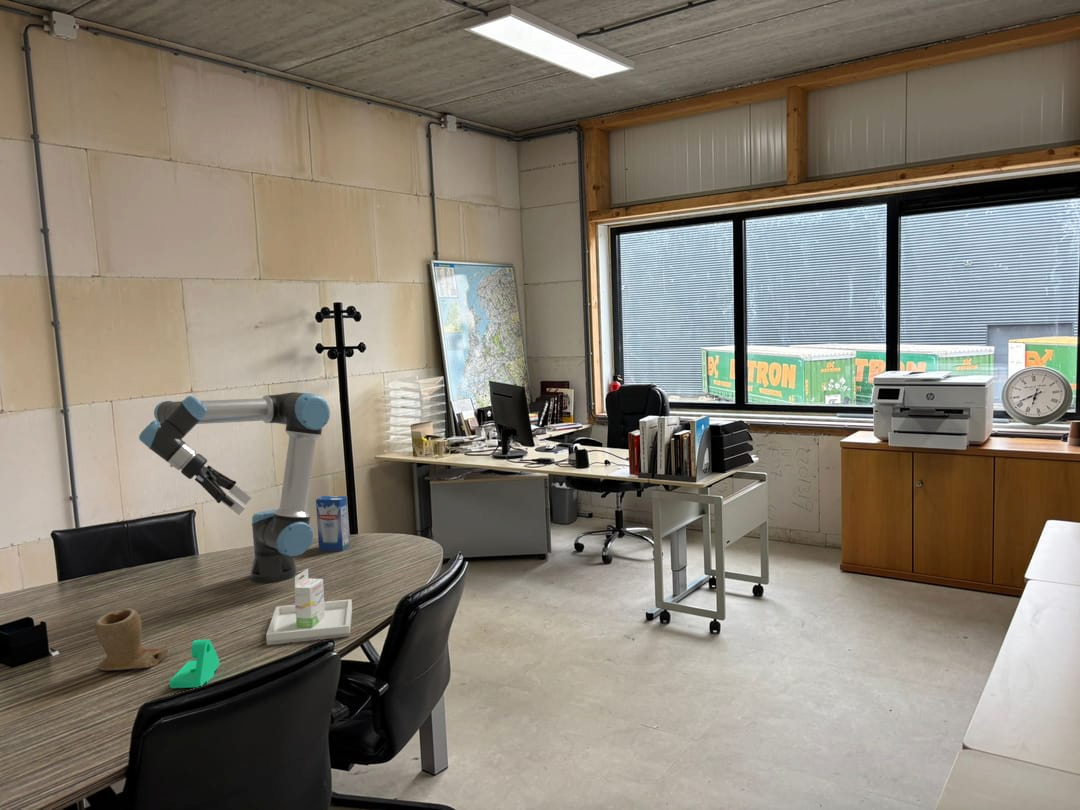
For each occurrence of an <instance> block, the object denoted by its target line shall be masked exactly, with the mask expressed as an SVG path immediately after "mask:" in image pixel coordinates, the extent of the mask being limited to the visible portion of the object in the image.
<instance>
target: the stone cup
mask: <svg viewBox="0 0 1080 810" xmlns="http://www.w3.org/2000/svg"><path fill="white" fill-rule="evenodd" d="M142 628H143V627H142V620H141V616H140V614H139V613H138V612H137V610H135V609H133V608H124V609H121V610H114V611H110V612H108V613H106V614H104V615H102V616H100V617H99V618H98V619H97V620H96V621H95V623H94V631H95V636H96V638H97V639H98V642H99V644H100V645H101V647H102V648H103V650H104V652H105V654H106V658H104V659H103V660H102V661H101V662H100V663H99V665H98V669H99V670H101V671H121V670H122V671H123V670H124V671H125V670H134V669H135V670H136V669H143V668H144V669H145V668H146V669H147V668H151V667H154V666H157V664H159V663H161V662H162V661H163V660H164V659H165V658H166V657H167V655H168V654H169V652H170V649H169V648H167V647H164V648H163V647H161V648H144V647H143V646H142Z"/></svg>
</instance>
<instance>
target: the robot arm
mask: <svg viewBox="0 0 1080 810" xmlns="http://www.w3.org/2000/svg"><path fill="white" fill-rule="evenodd" d="M153 415H154V416H153V417H154V418H155V419H154V420H152V421H151V422H150V423H149V424H148V425H147V426H146V427H145V428H144V429H143V430H142V431H141V432H140V434H139V437H138V438H139V439H138V440H139V441H140V442H142V443H143V444H144V445H145V446H146V447H148V449H149V450H151V451H152V452H153V453H155V454H157V455H158V456H159V457H160V458H162V460H164V461H166V463H168V464H169V466H170V467H171V468H175V469H176V470H177V471H180V472H181V474H182V475H183V476H185V477H186V478H187V479H188V480H192V479H193V478H194V477H196V478H195V479H194V481H195V482H196V483H198V484H199V485H200V486H201V487H202V488H203V489H205V491H206V492H207V493H208V494H209V495H210V496H211V497H212V498H213V499H214V500H215V501H216V503H217V504H220V503H222V504H224V505H225V506H226V507H228V508H229V509H230V510H232V511H233V512H234V513H236V514H237V515H238V516H240V515H241V514H242V512H244V510H245V509H246V507H245V506H246V505H247V504H248V503H249V501H250V500H251V499H252V496H250V495H249V494H248V493H246V491H244V490H243V489H241V488H240V487H238V485H236V484H237V481H236V480H233V479H231V478H229V477H228V476H226V475H225V474H222V472H219V471H218V470H216V469H215V468H214V467H212V466H211V465H209V464H208V465H207V466H205V465H206V464H207V463H208V460H207V458H206V457H204V456H203V455H202V454H200V453H197V451H196V449H194V448H193V447H192V446H190V445H189V444H188V443H187V442H185V441H184V440H182V439H183V438H185V437H186V435H187V434H188V433H189V432H191V431H192V430H193V428H194V427H196V425H201V424H202V425H204V424H205V425H206V424H222V423H223V424H224V423H225V424H227V423H240V422H241V423H244V422H263V423H265V424H280V425H285V433H286V434H287V435H288V438H289V439H288V445H287V453H286V460H285V466H284V473H283V474H284V475H283V482H282V489H281V497H280V503H279V508H278V509H276V508H275V509H268V510H264V511H260V512H256V513H253V515H252V517H251V526H252V527H251V529H252V538H253V539H252V540H253V551H254V557H253V561H252V565H251V569H250V579H251V580H250V581H253V582H256V583H273V582H281V581H284V580H288V579H290V578H293V577H295V576H296V574H297V566H296V564H295V562H294V559H293V557H296V556H301V555H303V554H304V553H305V552H306V551H308V549H310V547H311V545H313V541H314V530H313V529H312V527H311V525H310V521H311V520H310V519H311V515H310V513H309V512H308V511H307V506H308V500H309V492H310V485H311V478H312V477H311V476H312V470H313V464H314V454H315V447H316V440H317V439H318V438H319V437H321V436H322V430H323V427H325V426H326V425H327V424H328V422H329V421H330V416H331V410H330V406H329V403H327V401H326V400H325V398H323V397H322V396H320V395H317V394H315V393H305V392H295V391H294V392H293V391H292V392H285V393H279V394H278V393H277V394H269V395H264V396H262V398H239V399H238V398H237V399H216V400H215V399H214V400H211V399H209V400H208V399H207V400H199V399H197V398H196V397H195V396H192V395H189V396H187V397H185V398H184V399H183V400H181V401H172V400H166V401H162V402H160V403H158V404H157V405H156V406H155V407H154V410H153ZM222 488H224V489H225V490H228V493H230V494H231V495H233V496H231V495H230V494H227V493H226V492H225V490H224V489H222ZM234 497H235V498H236V499H238V500H239V501H240V502H241V503H242V504H241V503H240V502H239V501H237V500H236V499H235V498H234ZM243 504H244V505H245V506H244V505H243Z"/></svg>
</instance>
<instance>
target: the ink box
mask: <svg viewBox="0 0 1080 810" xmlns="http://www.w3.org/2000/svg"><path fill="white" fill-rule="evenodd" d="M294 599H295V600H294V601H295V603H294V605H296V622H297V627H306V628H309V627H310V628H312V627H313V626H315V625H316V624H317V623H318V622H320V621H321V620H322V619H324V618H325V606H324V602H325V592H324V579H323V578H310V577H309V569H308V568H306V569H305V570H303V571H302V572H300V573H299V574H297V575H294Z"/></svg>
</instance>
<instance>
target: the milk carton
mask: <svg viewBox="0 0 1080 810" xmlns="http://www.w3.org/2000/svg"><path fill="white" fill-rule="evenodd" d="M347 499H348V496H347V495H345V496H344V495H322V496H320V497H317V498H316V499H315V503H316V504H315V506H316V509H315V510H316V520H317V522H316V523H317V525H316V526H317V537H318V539H317V541H318V550H319V551H333V552H334V551H336V552H337V551H339V552H344V550H347V549H348V548H349V547H350V531H349V529H350V527H349V515H348V514H349V513H348V500H347Z"/></svg>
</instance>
